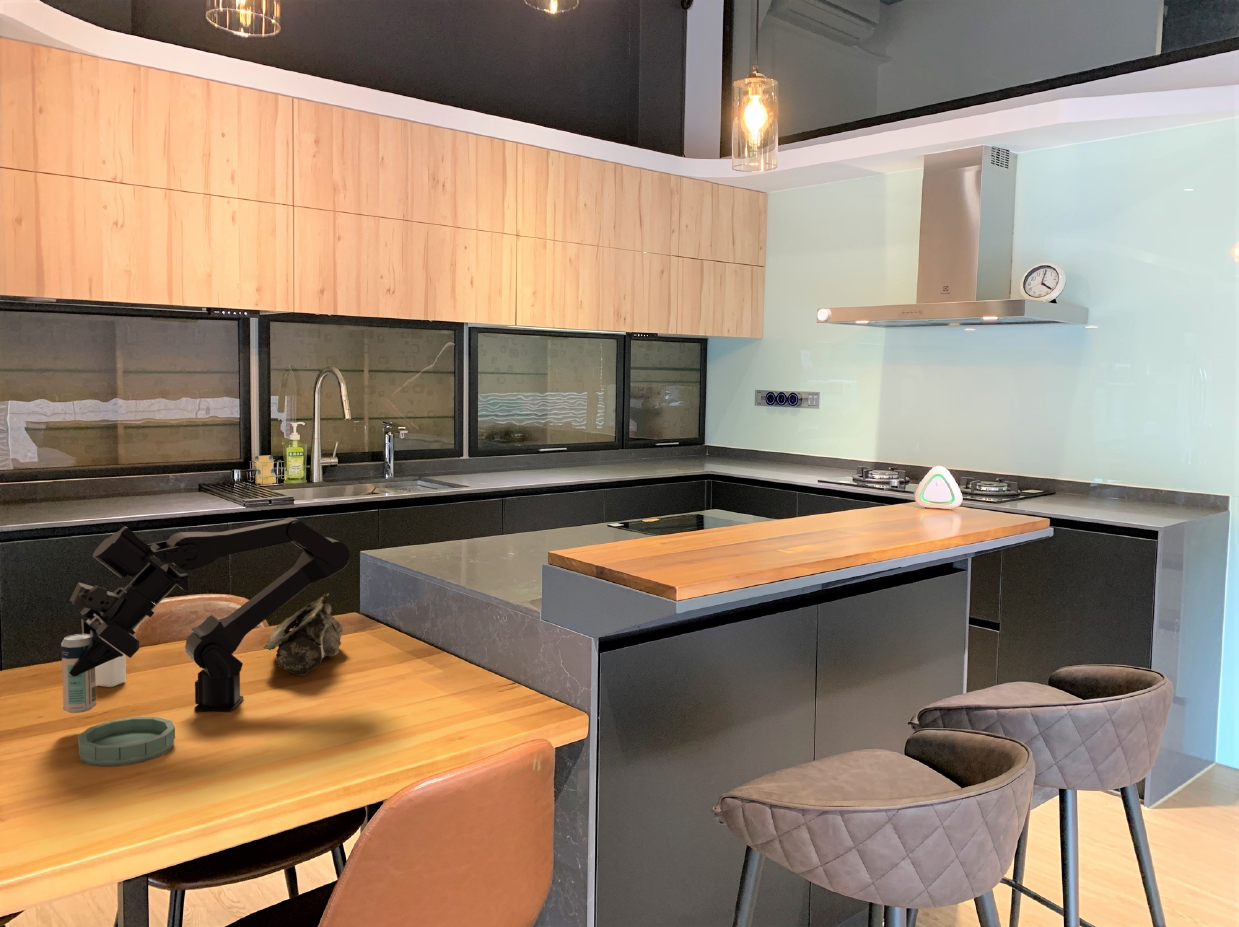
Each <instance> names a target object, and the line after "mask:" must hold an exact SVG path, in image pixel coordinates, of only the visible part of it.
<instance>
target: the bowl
mask: <svg viewBox="0 0 1239 927" xmlns="http://www.w3.org/2000/svg"><path fill="white" fill-rule="evenodd" d="M175 739H176V727H175V724H174V722H173V721H172V720H170V719H165V718H162V717H159V716H133V717H126V718H120V719H115V720H113V719H112V720H108V721H106V722H102V723H99V724H96V725H94V726H90V727H88V728H87V729H86V730H84V731H83V732H82V733H80V734H79V735H78V736H77V741H78V743H77V744H78V745H77V746H78V751H79V752H78V754H79V760H80V761H81V762H83V763H85V764H88V765H91V766H98V767H117V766H127V765H133V764H138V763H141V762H147V761H149V760H152V759H155V758H157V757H160V756H162V755H164V754H166V753H167V752H169V751H171V750H172V749H173V747H174V745H175Z"/></svg>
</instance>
